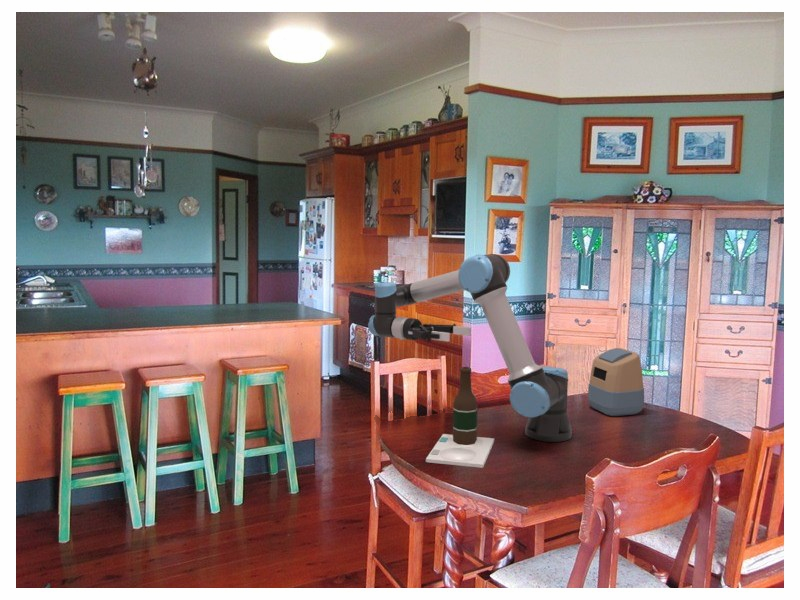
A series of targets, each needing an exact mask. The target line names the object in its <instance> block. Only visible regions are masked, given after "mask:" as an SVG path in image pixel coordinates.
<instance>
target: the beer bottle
mask: <svg viewBox="0 0 800 600" xmlns="http://www.w3.org/2000/svg"><path fill="white" fill-rule="evenodd" d="M459 372H460V373H459V375H460V377H459V387H458V390H459V391H458V392H457V395H456V396H455V398H454V400H453V403H452V404H453V406H452V435H453V441H454V442H455V443H457V444H461V445H470V444H474V443H475V442H476V440H477V437H478V401H477V399H476V396H475V395H474V393H473V390H472V375H471V373H472V368H471V367H469V366H462V367H460V368H459Z"/></svg>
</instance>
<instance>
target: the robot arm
mask: <svg viewBox="0 0 800 600" xmlns="http://www.w3.org/2000/svg"><path fill="white" fill-rule="evenodd" d="M510 266H511V265H509V262H508V260H506V259H505V258H504V257H503V256H501V255H500V254H496V253H489V254H475V255H473V256H469V257H467V258H466V259H465V260H464V261H463V262H462V263H461V264H460V267H459V269H457V270H454V271H450V272H447V273H442V274H439V275H437V276H433V277H429V278H425V279H421V280H418V281H414V282H412V283H411V282H410V283H406V284H404V285H403V284H402V285H398V286H397V284H396V283H395V282H389V281H387V282H383V281H382V282H377V283H375V287H374V288H375V289H374V306H375V307H374V314H373V315H371V316H370V318H369V321H368V324H367V326H368V327H367V328H368V330H369V332H370V334H371V335H373V336H378V337H383V338H384V337H385V338H393V339H399V341H402V340H409V341H417V340H421V341H426V340H427V342H428V343H431V341H432V340H433V341H440V342H441V341H442V342H450V341H451V339H450V338H451V334H453V335H458V336H467V337H468V336H471V335H472V327H469V326H468V327H467V326H458V325H457V324H456V323H452V324H434V323H433V324H432V323H429V324H428V323H423V324H422V322H421V320H420V319H418V318H413V317H402V316H396V315H397V308H399V307H404V306H412V305H414V304H416V303H419V302H424V301H428V300H433V299H436V298H441V297H444V296H449V295H452V294H456V293H460V292H465V291H466V292H467V293H470V296H471V298H472V300H473V302H474V303H476V304H478V305H480V307H481V308H482V311H483V314H484V316H485V318H486V321H487V322H488V323H487V324H488V325H489V328H490V330H491V333H492V336H493V338H494V340H495V341H496V342H495V343H496V345H497V347H498V349H499V351H500V354H501V356H502V358H503V361H504V362H505V366H506V368H507V370H508V373H509V375H508V378H507V382H508V385H509V387H510V393H509V402H510V405H511V407H512V409H513V410H514V411H515V412H516V413H517V414H519V415H521V416H522V417H525V418H528V419H527V422H526V425H525V430H524V432H525V435H526V437H528V438H530V439H532V440H536V441H539V442H547V443H548V442H549V443H550V442H551V443H559V442H566V441H568V440H570V439H571V438H572V437H573V436H572V434H573V432H572V431H573V429H572V426H571V423H570V420H569V416H568V392H569V391H568V386H569V385H568V383H569V378H568V377H569V376H568V373H569V372H568V371H567V369H564V368H561V367H555V366H554V367H553V366H547V365H546V366H545V365H544V366H541V365H539V364H537V363H536V362H535V359H534V358H533V355H532V353H531V351H530V349H529V348H530V347H528V344H527V342H526V339H525V336H524V334H523V332H522V330H521V328H520V325H519V323H518V320H517V318H516V316H515V314H514V311H513V309H512V307H511V305H510V302H509V299H508V298H507V295H506V294H507V293H506V292H507V290H508V285H507V282H508V280H509V279H510V276H511V267H510Z"/></svg>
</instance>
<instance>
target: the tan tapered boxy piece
mask: <svg viewBox="0 0 800 600" xmlns="http://www.w3.org/2000/svg"><path fill="white" fill-rule="evenodd" d="M640 358H641V357H640V354H639V353H637V352H635V351H631V350H628V349H625V348H621V347H614V348H610V349H607V350H606V351H604V352H603V353H601V354H598V355H597V356H595V357H594V359H593V362H592V366H591V370H590V375H589V376H590V377H589V383H588V387H587V388H588V390H587V401H588V404H589V405H590V406H591V408H593V409H594V410H597V411H598V412H601V413H602V414H604V415H605V416H609V417H622V416H631V415H632V416H633V415H637V414H639V413H641V411H642V410H643V408H644V406H645V388H644V380H643V377H644V376H643V368H642V363H641V359H640Z"/></svg>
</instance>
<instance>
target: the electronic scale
mask: <svg viewBox="0 0 800 600" xmlns="http://www.w3.org/2000/svg"><path fill="white" fill-rule="evenodd" d="M494 443H495V438H491V437H482V436H477V440H476V442H475V443H474V444H470V445H461V444H457V443H455V442H454V441H453V434H448V433H442V435H441V437H440V438H439V439H438V441H437V442H436V443H435V445H434V446H433V448H432V450H431V451H430V452H429V453H428V455H427V456H426V458H425V462H426V463H432V464H441V465H451V466H459V467H460V466H461V467H468V468H469V467H470V468H479V469H480V468H481V469H483V468H484V467H485V465H486V462H487V459H488V457H489V455H490V453H491V450H492V447H493V445H494Z"/></svg>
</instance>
